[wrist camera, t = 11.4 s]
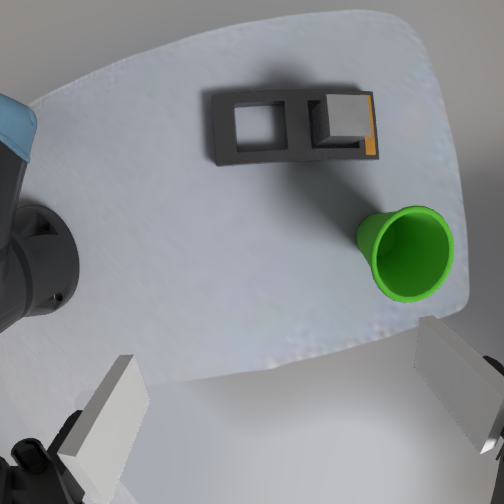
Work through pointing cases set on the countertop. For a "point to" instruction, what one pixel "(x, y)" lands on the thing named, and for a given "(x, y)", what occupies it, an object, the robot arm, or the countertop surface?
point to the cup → (407, 251)
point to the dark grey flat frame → (294, 128)
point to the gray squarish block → (341, 120)
